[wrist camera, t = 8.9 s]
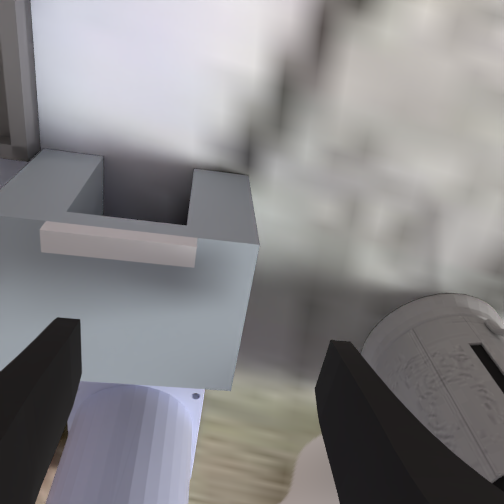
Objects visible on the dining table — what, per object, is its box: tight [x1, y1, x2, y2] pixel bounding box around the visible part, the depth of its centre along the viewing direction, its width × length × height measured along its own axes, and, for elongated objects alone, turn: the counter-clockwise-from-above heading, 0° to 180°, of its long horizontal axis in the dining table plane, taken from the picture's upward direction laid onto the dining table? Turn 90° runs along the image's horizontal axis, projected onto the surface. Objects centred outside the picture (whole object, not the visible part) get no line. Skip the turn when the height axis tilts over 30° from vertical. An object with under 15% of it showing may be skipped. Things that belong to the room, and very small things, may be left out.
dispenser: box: [0, 149, 260, 391], centre depth 19 cm, size 7×9×7 cm
